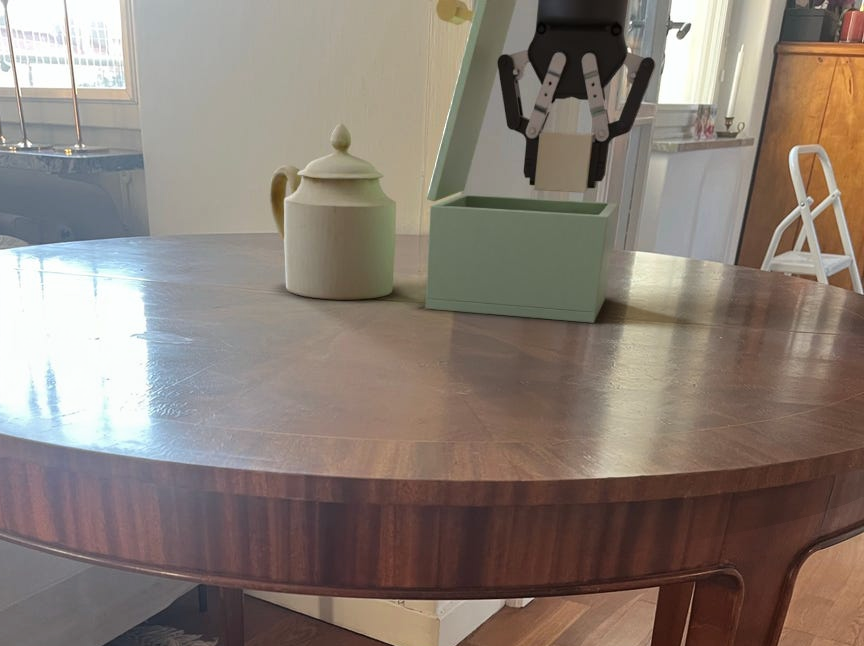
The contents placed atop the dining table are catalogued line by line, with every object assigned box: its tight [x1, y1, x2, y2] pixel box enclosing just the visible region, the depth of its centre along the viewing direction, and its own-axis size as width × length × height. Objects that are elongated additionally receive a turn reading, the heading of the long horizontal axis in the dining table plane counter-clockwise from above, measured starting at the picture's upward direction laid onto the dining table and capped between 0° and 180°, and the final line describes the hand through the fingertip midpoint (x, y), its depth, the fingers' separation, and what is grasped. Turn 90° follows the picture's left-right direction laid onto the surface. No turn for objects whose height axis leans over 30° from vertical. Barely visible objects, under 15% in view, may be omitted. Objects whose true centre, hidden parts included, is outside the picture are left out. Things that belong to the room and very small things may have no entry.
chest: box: [425, 194, 619, 324], centre depth 91 cm, size 16×13×9 cm
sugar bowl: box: [269, 122, 397, 301], centre depth 94 cm, size 15×11×15 cm
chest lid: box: [426, 0, 517, 202], centre depth 86 cm, size 17×13×5 cm
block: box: [533, 131, 595, 194], centre depth 87 cm, size 5×5×5 cm
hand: (562, 185), depth 88 cm, fingers closed on block, 4 cm apart
